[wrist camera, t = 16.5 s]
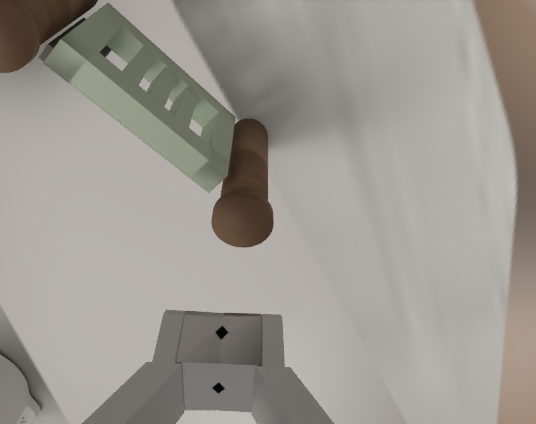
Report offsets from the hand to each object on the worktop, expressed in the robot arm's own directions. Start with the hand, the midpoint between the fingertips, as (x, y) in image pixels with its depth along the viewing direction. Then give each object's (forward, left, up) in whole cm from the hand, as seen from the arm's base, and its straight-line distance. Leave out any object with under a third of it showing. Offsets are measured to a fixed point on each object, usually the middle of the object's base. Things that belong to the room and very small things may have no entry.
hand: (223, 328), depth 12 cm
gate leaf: (-4, +3, -22) cm, 23 cm away
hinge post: (-4, -4, -23) cm, 24 cm away
